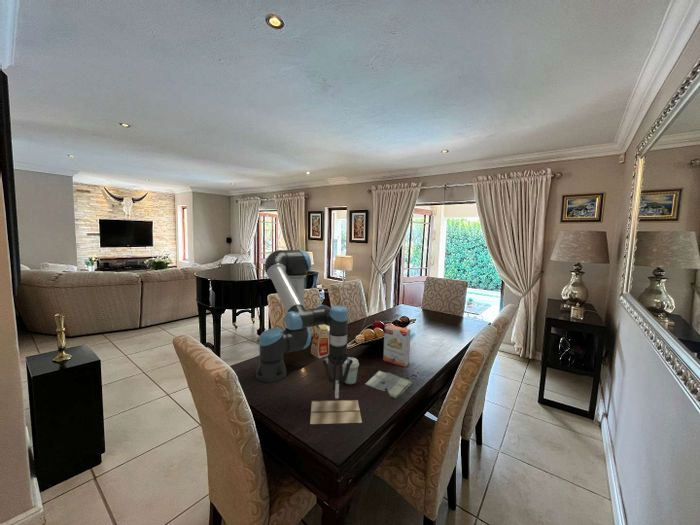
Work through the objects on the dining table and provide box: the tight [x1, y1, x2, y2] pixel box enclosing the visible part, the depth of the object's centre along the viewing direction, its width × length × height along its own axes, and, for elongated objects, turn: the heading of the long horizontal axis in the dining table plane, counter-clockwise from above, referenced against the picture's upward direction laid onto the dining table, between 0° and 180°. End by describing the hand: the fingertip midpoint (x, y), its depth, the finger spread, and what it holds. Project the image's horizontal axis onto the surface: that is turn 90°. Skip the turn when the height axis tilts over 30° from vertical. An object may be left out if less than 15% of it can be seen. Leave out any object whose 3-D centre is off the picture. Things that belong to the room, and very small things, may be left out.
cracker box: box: [382, 324, 411, 368], centre depth 168 cm, size 14×6×21 cm, turn 55°
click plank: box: [310, 399, 360, 413], centre depth 122 cm, size 20×8×2 cm, turn 95°
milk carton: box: [310, 324, 330, 359], centre depth 177 cm, size 9×9×20 cm
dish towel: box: [364, 370, 413, 400], centre depth 143 cm, size 19×18×3 cm
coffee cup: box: [342, 356, 360, 385], centre depth 143 cm, size 8×9×12 cm
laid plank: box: [309, 410, 363, 425], centre depth 115 cm, size 20×8×2 cm, turn 95°
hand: (336, 396), depth 124 cm, fingers closed
